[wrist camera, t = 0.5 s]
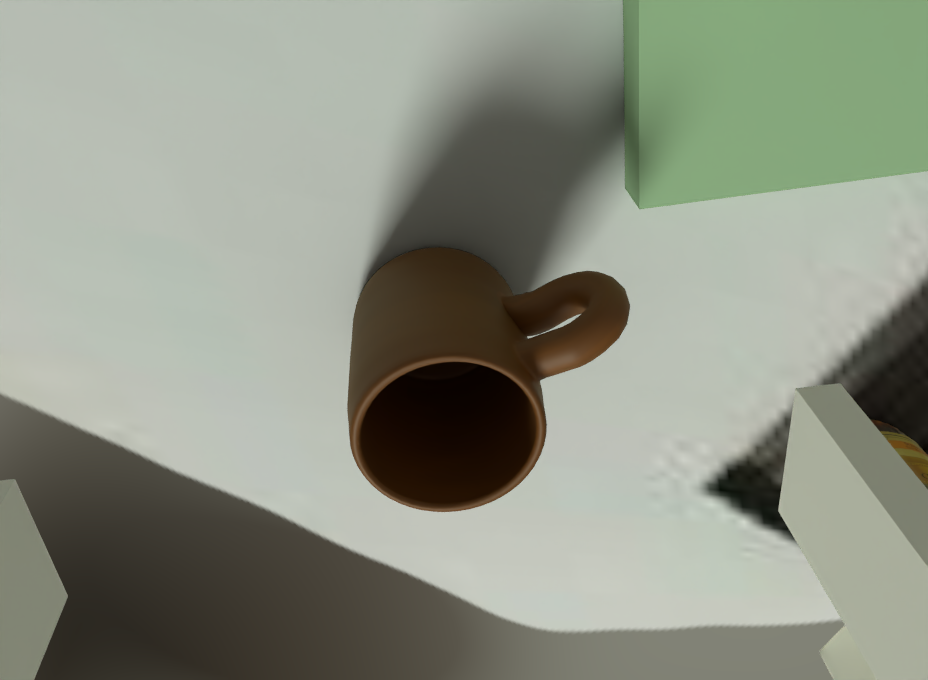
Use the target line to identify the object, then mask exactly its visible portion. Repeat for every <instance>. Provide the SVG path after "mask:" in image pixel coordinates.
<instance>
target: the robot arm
mask: <svg viewBox="0 0 928 680" xmlns="http://www.w3.org/2000/svg"><path fill="white" fill-rule="evenodd" d="M778 511H779V513H780V514H781V516H782V518H783V519H784V521H785V523H786V525H787V526H788V528H789V530H790V531H791V533H792V535H793V537H794V538H795V540H796V542H797V543H798V545H799V547H800V549H801V550H802V552H803V554H804V556H805V557H806V559H807V561H808V562H809V564H810V566H811V568H812V569H813V571H814V573H815V574H816V576H817V578H818V580H819V581H820V583H821V585H822V586H823V588H824V590H825V592H826V593H827V595H828V597H829V598H830V600H831V602H832V604H833V605H834V607H835V609H836V610H837V612H838V614H839V616H840V617H841V619H842V621H843V623H844V624H845V626H846V628H847V629H848V631H849V633H850V635H851V636H852V638H853V640H854V641H855V643H856V645H857V647H858V648H859V650H860V652H861V653H862V655H863V657H864V659H865V660H866V662H867V664H868V665H869V667H870V669H871V671H872V672H873V674H874V676H875V677H876V679H877V680H928V489H927V488H926V487H925V486H924V484H923V483H922V482H921V481H920V480H919V478H918V477H917V476H916V475H915V474H914V472H913V471H912V470H911V469H910V467H909V466H908V465H907V464H906V463H905V461H904V460H903V459H902V458H901V457H900V455H899V454H898V453H897V452H896V451H895V449H894V448H893V447H892V446H891V444H890V443H889V442H888V441H887V440H886V438H885V437H884V436H883V435H882V434H881V432H880V431H879V430H878V429H877V427H876V426H875V425H874V424H873V423H872V421H871V420H870V419H869V418H868V417H867V415H866V414H865V413H864V412H863V411H862V409H861V408H860V407H859V406H858V404H857V403H856V402H855V401H854V400H853V398H852V397H851V396H850V395H849V394H848V392H847V391H846V390H845V389H844V388H843V386H842V385H841V384H840V383H839V384H830V385H822V386H813V387H804V388H796V390H795V397H794V404H793V411H792V418H791V426H790V433H789V440H788V447H787V454H786V461H785V468H784V475H783V482H782V489H781V496H780V503H779V510H778ZM67 597H68V595H67V594H66V591H65V589H64V587H63V585H62V582H61V580H60V578H59V576H58V574H57V571H56V569H55V567H54V565H53V562H52V560H51V558H50V556H49V554H48V551H47V549H46V547H45V545H44V543H43V540H42V538H41V536H40V534H39V532H38V530H37V527H36V525H35V523H34V520H33V518H32V516H31V514H30V512H29V510H28V507H27V505H26V503H25V501H24V498H23V496H22V494H21V492H20V490H19V487H18V485H17V483H16V481H15V479H12V480H3V481H0V680H34V678H35V676H36V673H37V671H38V668H39V666H40V663H41V660H42V658H43V656H44V653H45V651H46V649H47V646H48V643H49V641H50V639H51V636H52V634H53V631H54V628H55V626H56V624H57V622H58V619H59V616H60V614H61V611H62V609H63V607H64V604H65V601H66V599H67Z"/></svg>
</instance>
